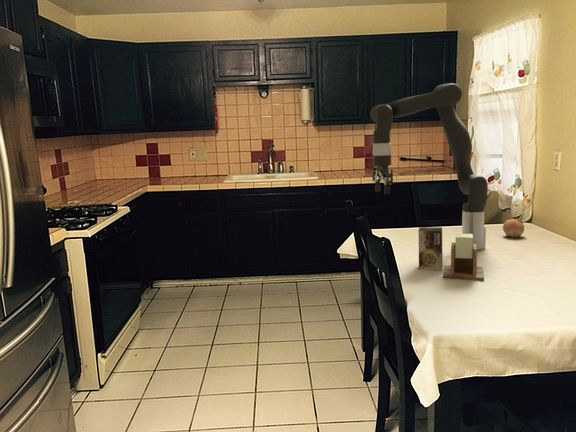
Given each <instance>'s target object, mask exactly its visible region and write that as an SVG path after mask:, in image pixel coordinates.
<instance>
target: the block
mask: <svg viewBox="0 0 576 432" xmlns="http://www.w3.org/2000/svg"><path fill="white" fill-rule="evenodd" d="M454 243H455V258H471V259H472V253H473V235H472V234H462V233H455V241H454Z"/></svg>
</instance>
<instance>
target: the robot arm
mask: <svg viewBox="0 0 576 432" xmlns="http://www.w3.org/2000/svg"><path fill="white" fill-rule="evenodd" d="M462 97H463V90H462V87H460V86H459V84H457V83H444V84H439V85H437V86H436V87H435V88H434V89H433V91H431V92H428V93H424V94H423V93H422V94H418V95H413V96H408V97H404V98H401V99H397V100H395V101H392V102H387V103H381V104H378V105H375V106H373V107H372V108H371V110H370V112H369V117H370V119H371V121H373V122H374V123H376V128H375V129H374V130H373V132H372V134H373V135H372V140H373V142H372V165H373V167H372V181H373V183H374V184H375V187H374V188H375V189H374V190H375V192H378V193H379V192H381V191H382V182H383V186H384V195H390V193H391V185H392V184H393V183H394V175H393V168H389V166H391V165H392V146H391V145H392V144H391V131H392V127H393V121H394V118H395V119H397V118H403V117H407V116H410V115H413V114H417V113H420V112H423V111H425V110H426V111H427V110H428V109H429V110H430V109H432V108H436V111H437V113H438V115H439V118H440V120H441V125H442V126H443V129H444V133H445V136H446V139H447V144H448V146H449V147H448V148H449V150H450V153H451V156H452V160H453V163H454V167H455V170H456V176H457V182H458V186H459V187H458V188H459V189H460V191H461V192H462V193H463V195H467V196H468V197H467V198H468V199H467V202H465V203H463V204H462V211H461V212H462V216H461V218H462V219H461V223H462V225H461V228H462V229H461V234H472V235H473V243H476V245H477V251H481V250H483V249H485V248H486V241H487V240H486V238H487V237H486V236H487V234H486V233H487V230H486V229H487V228H486V226H485V208H486V205H487V201H488V192H489V190H488V181H487V179H486V177H484V176H481V175H475V174H474V172H473V168H472V164H471V156H472V152H473V144H472V140H471V136H470V133H469V130H468V128H467V127H466V125H465V124H464V123H463V122H462V121H461V119H460V118H459V117H458V114H457V113H456V110H455V107H454V106H455V105H456V104H458V103H459V102H460V101H461V99H462Z"/></svg>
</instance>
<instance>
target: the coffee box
mask: <svg viewBox="0 0 576 432" xmlns="http://www.w3.org/2000/svg"><path fill="white" fill-rule="evenodd" d="M417 231H418V233H417V235H418V270H426V271H427V270H428V271H429V270H430V271H431V270H432V271H443V268H444V267H443V227H441V226H440V227H439V226H433V227H432V226H431V227H430V226H420V227H418V230H417Z"/></svg>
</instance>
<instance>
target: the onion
mask: <svg viewBox="0 0 576 432" xmlns="http://www.w3.org/2000/svg"><path fill="white" fill-rule="evenodd" d="M502 225H503V226H502V230H503V232H504V234H505V235H506V236H507V238H518V237H521V236H522V235H523V234H524V231H525V225H524V222H523V221H522V220H521V219H520V218H512V219H511V218H510V219H507V220H506V221H505V222H504V223H503V224H502Z"/></svg>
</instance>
